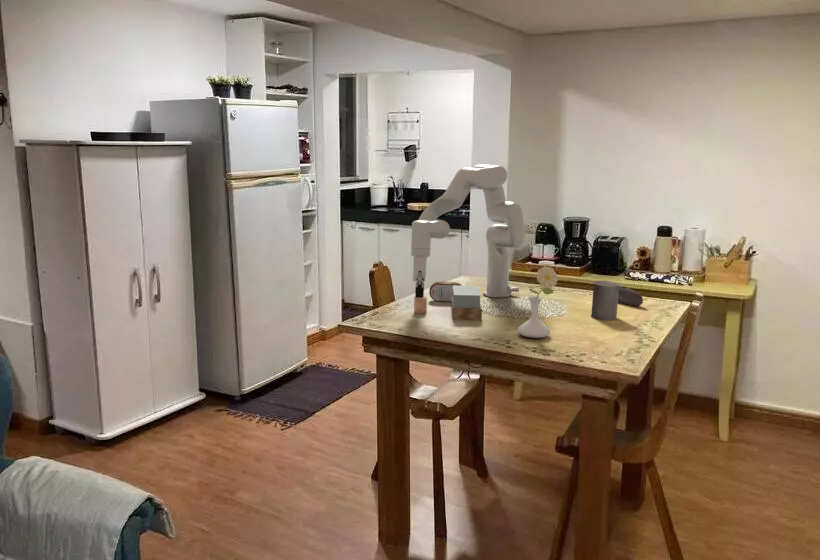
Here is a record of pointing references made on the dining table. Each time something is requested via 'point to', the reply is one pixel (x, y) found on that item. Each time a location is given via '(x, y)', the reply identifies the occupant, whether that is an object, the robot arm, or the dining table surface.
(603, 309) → the pillar candle
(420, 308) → the column
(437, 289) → the tin
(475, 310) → the tower base
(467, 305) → the tower top
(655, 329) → the dining table surface
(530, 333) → the flower in vase
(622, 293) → the perforated stone tool
